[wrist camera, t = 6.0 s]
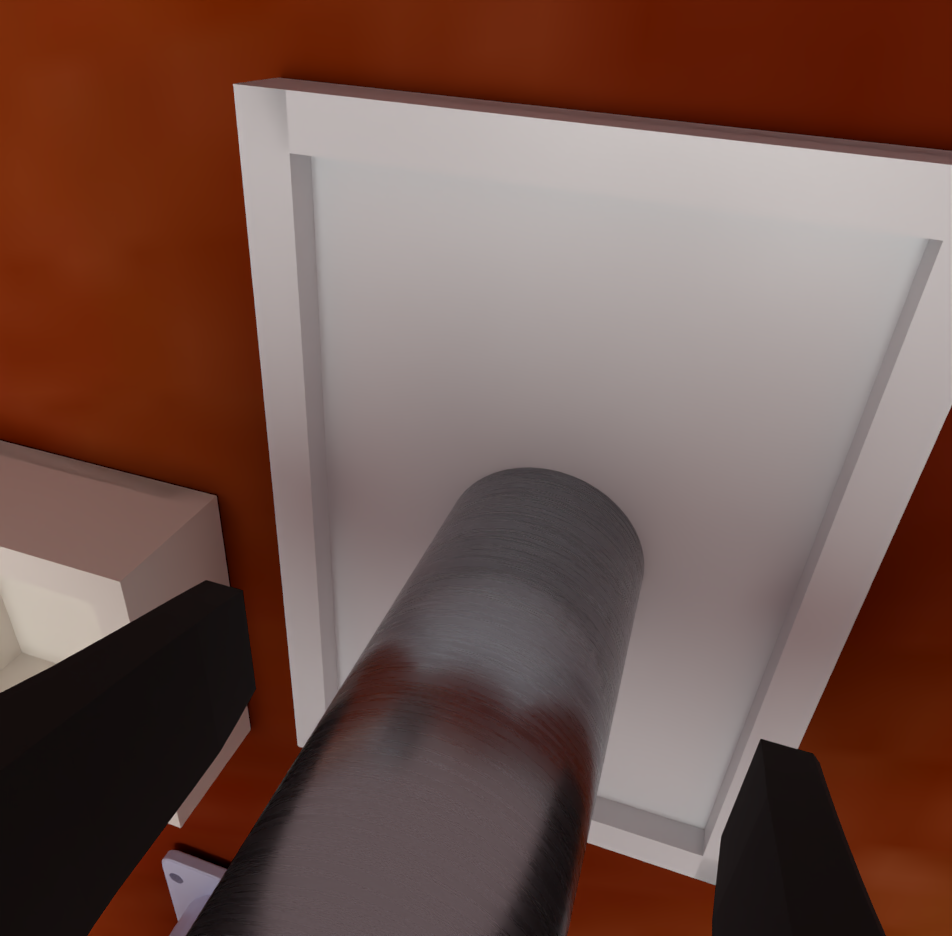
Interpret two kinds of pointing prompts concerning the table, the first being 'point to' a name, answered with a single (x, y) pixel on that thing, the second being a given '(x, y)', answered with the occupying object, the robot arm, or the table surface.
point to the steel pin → (458, 735)
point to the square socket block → (96, 563)
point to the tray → (600, 390)
